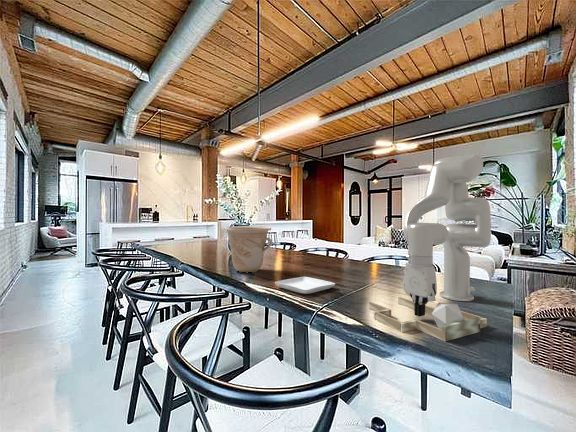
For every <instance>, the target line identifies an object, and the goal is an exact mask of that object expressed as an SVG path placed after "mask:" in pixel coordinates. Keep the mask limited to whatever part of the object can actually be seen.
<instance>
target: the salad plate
mask: <svg viewBox="0 0 576 432" xmlns="http://www.w3.org/2000/svg"><path fill="white" fill-rule="evenodd" d="M274 283H275V285H276V286H277V287H279V288H282V289H285V290H288V291H291V292H295V293H298V294H303V295H309V294H313V293H319V292H322V291H325V290H329V289H331V288H333V287H334V286H335V285H336V282H332V281H329V280H328V281H327V280H323V279H319V278H314V277H309V276H300V277H292V278H287V279H283V280H282V279H281V280H277V281H275V282H274Z"/></svg>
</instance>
